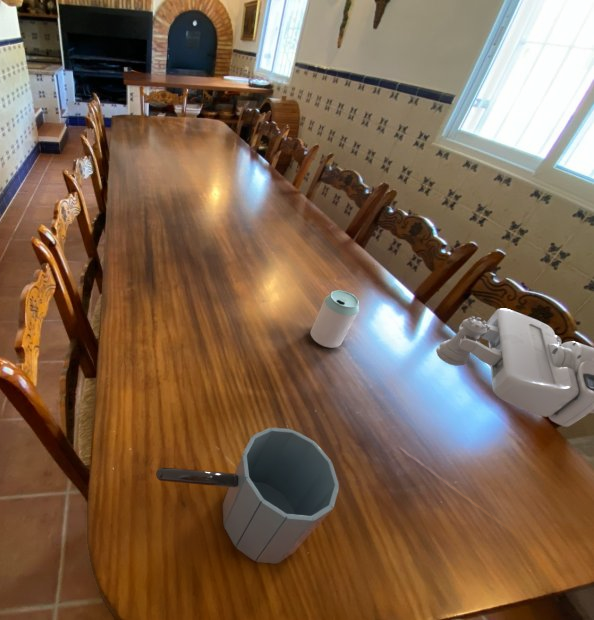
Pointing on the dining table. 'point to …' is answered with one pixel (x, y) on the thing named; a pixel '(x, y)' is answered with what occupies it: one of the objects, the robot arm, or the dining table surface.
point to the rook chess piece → (451, 349)
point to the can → (335, 318)
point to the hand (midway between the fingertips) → (460, 333)
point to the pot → (271, 493)
